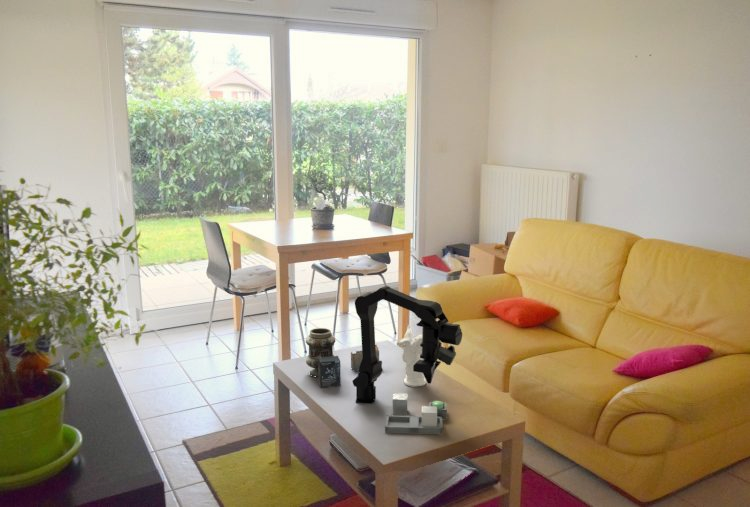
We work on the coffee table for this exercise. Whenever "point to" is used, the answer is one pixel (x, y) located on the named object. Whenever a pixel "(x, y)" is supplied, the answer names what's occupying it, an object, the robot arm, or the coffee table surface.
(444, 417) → the switch box
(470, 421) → the coffee table surface
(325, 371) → the box
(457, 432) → the coffee table surface
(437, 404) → the button
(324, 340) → the ornate grey-brown vase
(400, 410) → the block
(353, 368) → the architectural model on board
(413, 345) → the cherub figurine
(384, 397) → the coffee table surface
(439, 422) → the pallet
